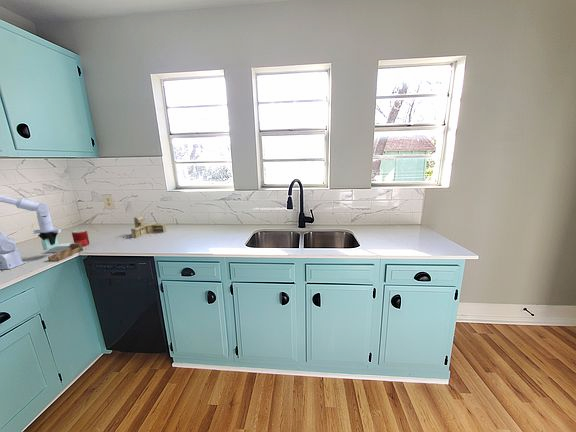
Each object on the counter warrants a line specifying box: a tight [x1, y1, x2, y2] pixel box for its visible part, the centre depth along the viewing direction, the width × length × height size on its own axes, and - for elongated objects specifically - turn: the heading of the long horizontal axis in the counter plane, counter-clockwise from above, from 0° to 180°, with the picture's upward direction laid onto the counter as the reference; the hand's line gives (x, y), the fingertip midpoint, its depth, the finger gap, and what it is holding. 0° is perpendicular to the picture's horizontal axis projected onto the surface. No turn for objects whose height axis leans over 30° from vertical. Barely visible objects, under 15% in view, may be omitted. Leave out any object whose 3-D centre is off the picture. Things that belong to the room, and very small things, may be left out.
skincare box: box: [48, 242, 73, 254], centre depth 160 cm, size 6×4×12 cm
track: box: [47, 242, 84, 263], centre depth 151 cm, size 18×6×5 cm, turn 3°
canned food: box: [71, 228, 90, 248], centre depth 169 cm, size 8×8×11 cm
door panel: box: [40, 235, 60, 251], centre depth 149 cm, size 8×2×6 cm, turn 2°
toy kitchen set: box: [130, 215, 167, 239], centre depth 191 cm, size 18×17×15 cm
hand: (50, 244), depth 150 cm, fingers closed on door panel, 2 cm apart
